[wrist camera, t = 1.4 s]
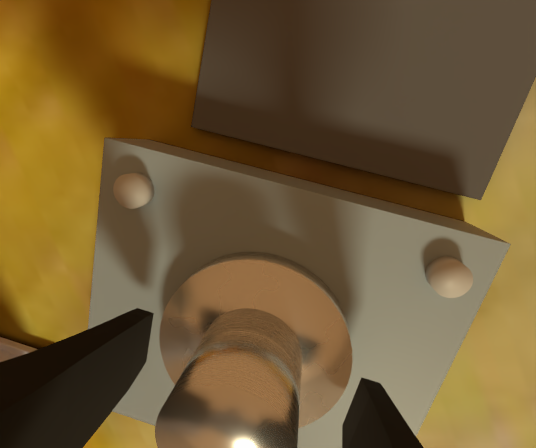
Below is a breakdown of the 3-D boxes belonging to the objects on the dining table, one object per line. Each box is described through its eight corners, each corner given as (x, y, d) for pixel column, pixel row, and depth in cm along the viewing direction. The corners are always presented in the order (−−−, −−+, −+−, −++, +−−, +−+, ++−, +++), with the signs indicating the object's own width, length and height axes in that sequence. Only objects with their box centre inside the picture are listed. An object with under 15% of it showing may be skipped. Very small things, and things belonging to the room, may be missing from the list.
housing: (121, 357, 17) (71, 411, 13) (148, 139, 14) (92, 137, 10) (370, 438, 16) (386, 519, 12) (465, 221, 12) (523, 250, 9)
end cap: (180, 350, 15) (84, 496, 9) (205, 217, 13) (105, 281, 7) (318, 394, 14) (322, 583, 8) (365, 262, 12) (417, 376, 6)
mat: (194, 127, 13) (191, 126, 13) (231, -98, 11) (229, -107, 11) (475, 198, 12) (480, 200, 12) (577, -33, 10) (587, -40, 10)
